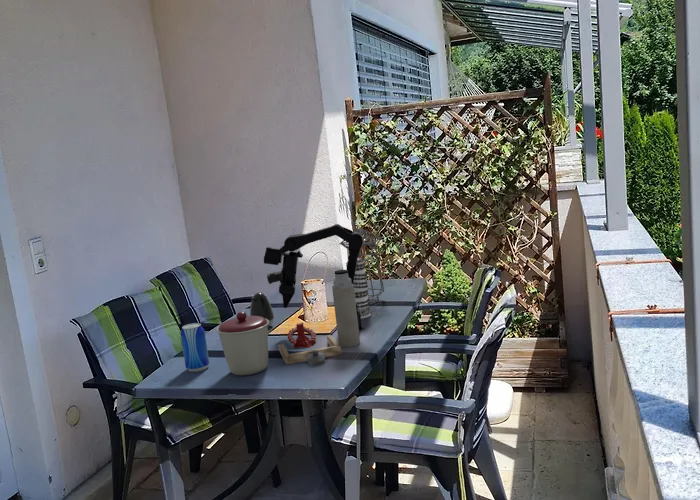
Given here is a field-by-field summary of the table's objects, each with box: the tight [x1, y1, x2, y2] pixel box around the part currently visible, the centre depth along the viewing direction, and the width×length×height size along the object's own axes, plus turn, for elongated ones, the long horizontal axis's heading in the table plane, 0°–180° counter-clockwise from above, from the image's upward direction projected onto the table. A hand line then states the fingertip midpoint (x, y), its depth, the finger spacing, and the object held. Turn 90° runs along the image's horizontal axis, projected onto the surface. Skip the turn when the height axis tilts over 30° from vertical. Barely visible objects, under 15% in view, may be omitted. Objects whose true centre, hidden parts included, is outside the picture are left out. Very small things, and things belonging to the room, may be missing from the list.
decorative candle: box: [345, 257, 372, 320], centre depth 279 cm, size 9×9×25 cm
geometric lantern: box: [339, 227, 385, 306], centre depth 300 cm, size 16×16×35 cm
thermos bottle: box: [331, 269, 361, 348], centre depth 242 cm, size 8×8×28 cm
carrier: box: [278, 334, 343, 366], centre depth 235 cm, size 20×22×4 cm
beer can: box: [180, 322, 210, 373], centre depth 234 cm, size 8×8×16 cm
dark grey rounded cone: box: [249, 292, 275, 328], centre depth 279 cm, size 10×10×15 cm
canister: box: [215, 311, 269, 376], centre depth 225 cm, size 18×18×21 cm
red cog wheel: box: [287, 322, 317, 349], centre depth 250 cm, size 11×12×8 cm
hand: (285, 304), depth 262 cm, fingers open, 9 cm apart
